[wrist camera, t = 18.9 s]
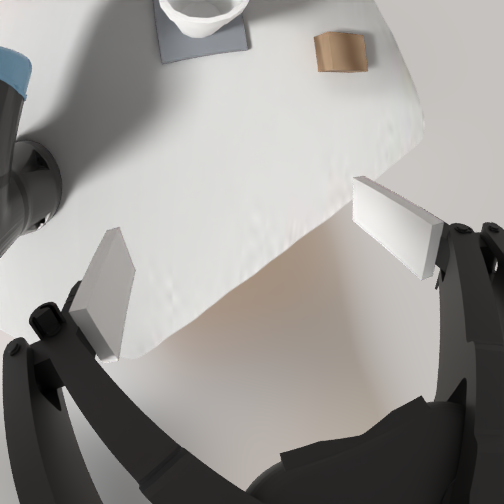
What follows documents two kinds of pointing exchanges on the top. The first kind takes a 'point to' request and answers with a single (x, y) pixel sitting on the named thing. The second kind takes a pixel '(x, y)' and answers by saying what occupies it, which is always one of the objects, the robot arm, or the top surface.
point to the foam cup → (202, 14)
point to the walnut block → (340, 52)
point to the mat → (196, 39)
